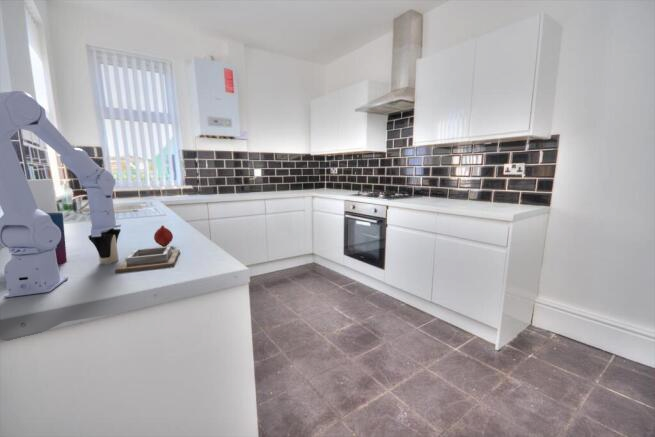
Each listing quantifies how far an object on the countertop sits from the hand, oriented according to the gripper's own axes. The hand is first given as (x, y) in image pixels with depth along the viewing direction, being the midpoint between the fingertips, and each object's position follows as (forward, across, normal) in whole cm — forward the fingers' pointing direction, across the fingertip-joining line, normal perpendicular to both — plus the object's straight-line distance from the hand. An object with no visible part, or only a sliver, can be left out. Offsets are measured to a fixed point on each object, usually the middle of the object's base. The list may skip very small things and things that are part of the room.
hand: (108, 255), depth 88 cm
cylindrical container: (+2, +14, +20) cm, 25 cm away
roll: (+2, 0, 0) cm, 2 cm away
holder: (+2, -5, -12) cm, 13 cm away
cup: (+2, +5, +15) cm, 16 cm away
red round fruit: (+2, +13, -13) cm, 19 cm away
